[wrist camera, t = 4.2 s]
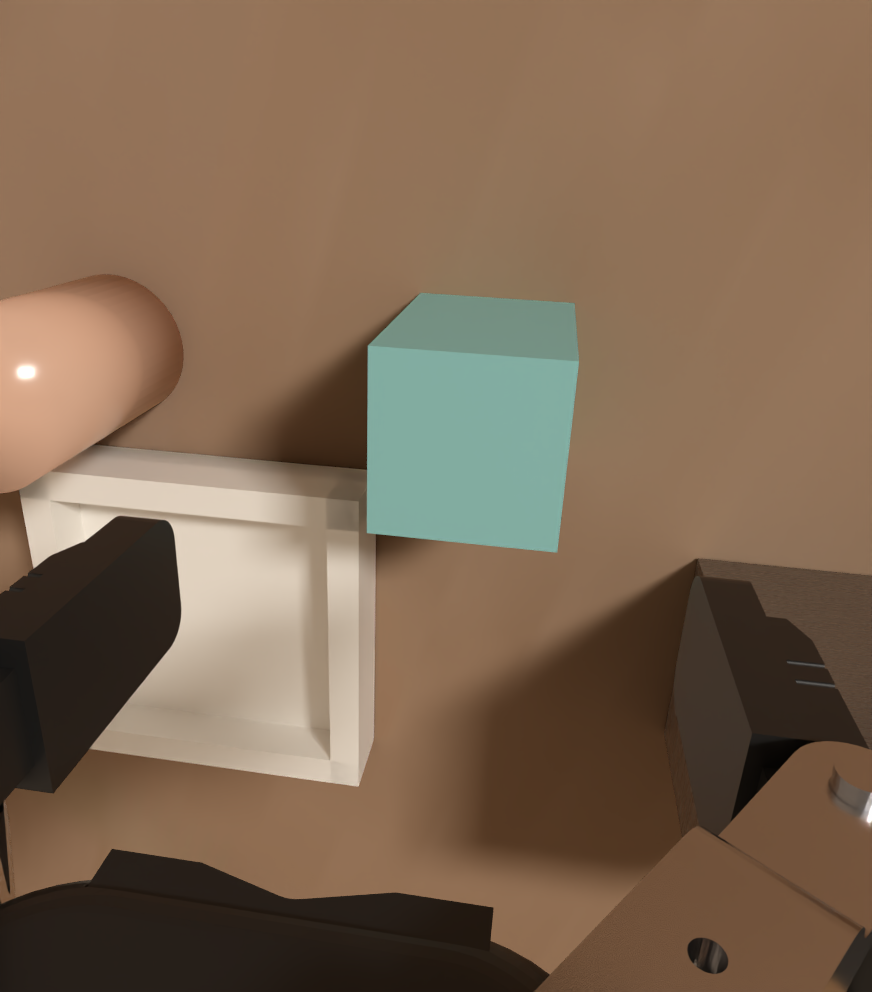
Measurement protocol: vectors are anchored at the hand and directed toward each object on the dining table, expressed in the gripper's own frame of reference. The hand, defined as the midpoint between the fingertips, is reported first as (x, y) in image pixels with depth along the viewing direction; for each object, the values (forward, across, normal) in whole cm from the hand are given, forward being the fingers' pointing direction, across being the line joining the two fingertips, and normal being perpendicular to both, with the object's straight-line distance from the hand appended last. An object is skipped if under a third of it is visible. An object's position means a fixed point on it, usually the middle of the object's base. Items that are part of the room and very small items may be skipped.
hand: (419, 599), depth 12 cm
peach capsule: (+13, +12, 0) cm, 18 cm away
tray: (+13, +9, +9) cm, 18 cm away
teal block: (+13, 0, 0) cm, 13 cm away
